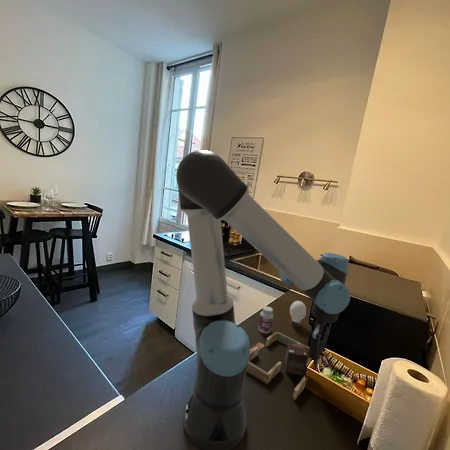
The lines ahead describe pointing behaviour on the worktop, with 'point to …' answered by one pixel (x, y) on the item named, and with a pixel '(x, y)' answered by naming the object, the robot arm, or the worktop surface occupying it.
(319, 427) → the worktop surface
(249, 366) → the tray
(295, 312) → the light bulb
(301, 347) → the box
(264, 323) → the pill bottle
